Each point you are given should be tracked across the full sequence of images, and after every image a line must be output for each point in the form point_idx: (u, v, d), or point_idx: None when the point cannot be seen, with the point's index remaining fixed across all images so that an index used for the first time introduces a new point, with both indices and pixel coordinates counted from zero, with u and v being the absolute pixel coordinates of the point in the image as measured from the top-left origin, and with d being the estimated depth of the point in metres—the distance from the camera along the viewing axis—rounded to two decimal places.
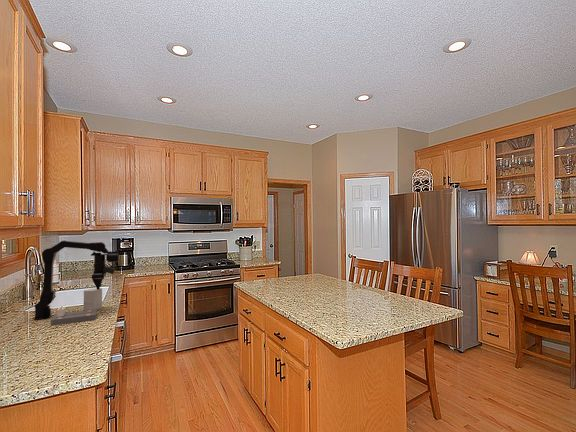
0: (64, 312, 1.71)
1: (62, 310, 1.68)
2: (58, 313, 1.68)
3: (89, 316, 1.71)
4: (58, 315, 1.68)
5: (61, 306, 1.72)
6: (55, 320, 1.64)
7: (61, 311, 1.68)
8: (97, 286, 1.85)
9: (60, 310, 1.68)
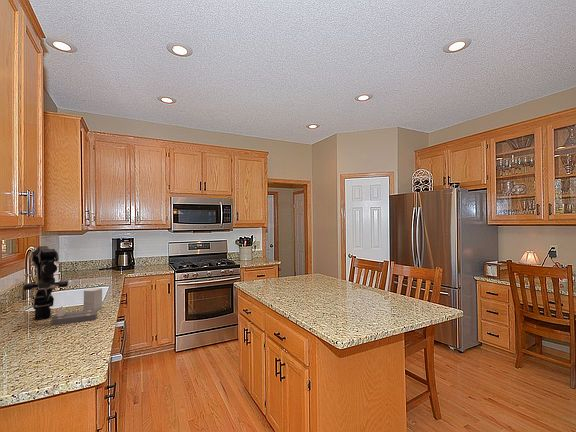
0: (64, 312, 1.71)
1: (62, 310, 1.68)
2: (58, 313, 1.68)
3: (89, 316, 1.71)
4: (58, 315, 1.68)
5: (61, 306, 1.72)
6: (55, 320, 1.64)
7: (61, 311, 1.68)
8: None
9: (60, 310, 1.68)
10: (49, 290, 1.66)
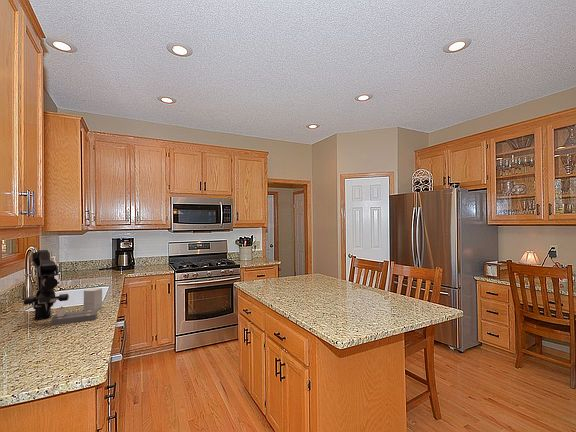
0: (64, 312, 1.71)
1: (62, 310, 1.68)
2: (58, 313, 1.68)
3: (89, 316, 1.71)
4: (58, 315, 1.68)
5: (61, 306, 1.72)
6: (55, 320, 1.64)
7: (61, 311, 1.68)
8: None
9: (60, 310, 1.68)
10: (49, 304, 1.66)
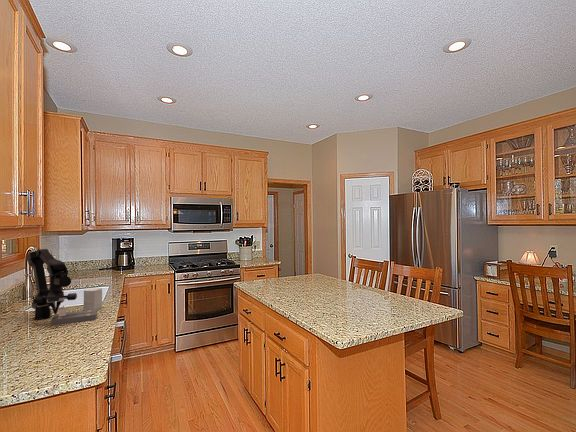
0: (66, 312, 1.71)
1: (64, 310, 1.69)
2: (60, 313, 1.68)
3: (89, 316, 1.71)
4: (60, 315, 1.68)
5: (63, 306, 1.72)
6: (55, 320, 1.64)
7: (62, 311, 1.68)
8: None
9: (62, 310, 1.68)
10: (58, 303, 1.68)
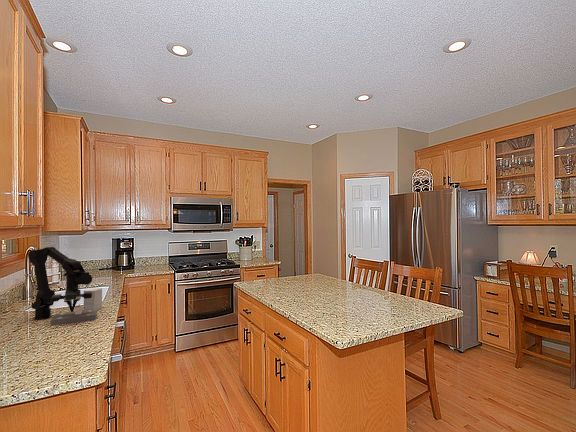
0: (82, 310, 1.75)
1: (80, 308, 1.72)
2: (76, 311, 1.71)
3: (89, 316, 1.71)
4: (76, 313, 1.71)
5: (79, 304, 1.76)
6: (55, 320, 1.64)
7: (79, 309, 1.72)
8: (70, 308, 1.72)
9: (78, 308, 1.72)
10: (74, 301, 1.71)
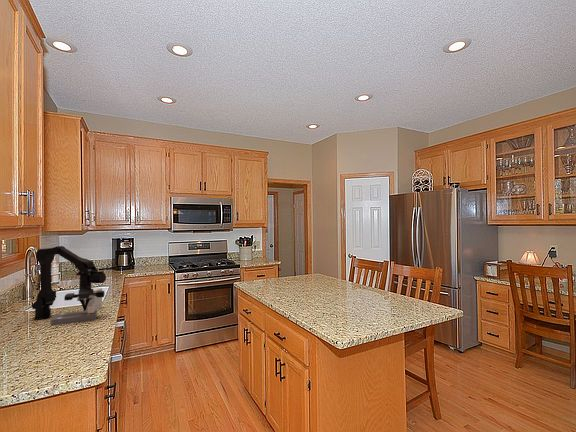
0: (94, 309, 1.77)
1: (92, 307, 1.75)
2: (89, 310, 1.74)
3: (89, 316, 1.71)
4: (89, 311, 1.74)
5: (91, 303, 1.79)
6: (55, 320, 1.64)
7: (91, 307, 1.75)
8: (83, 307, 1.75)
9: (91, 307, 1.75)
10: (87, 300, 1.74)
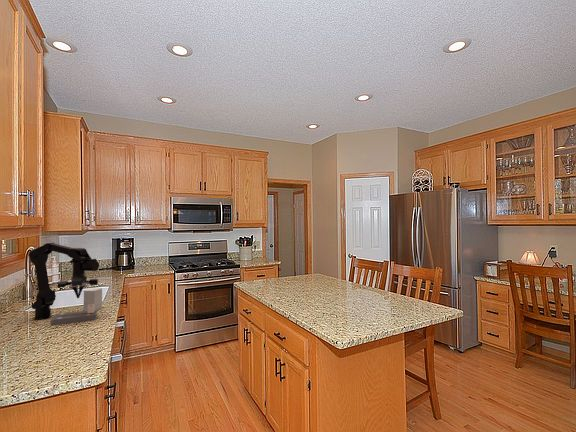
0: (94, 309, 1.77)
1: (92, 307, 1.75)
2: (89, 310, 1.74)
3: (89, 316, 1.71)
4: (89, 311, 1.74)
5: (91, 303, 1.79)
6: (55, 320, 1.64)
7: (91, 307, 1.75)
8: (76, 294, 1.75)
9: (90, 307, 1.75)
10: (81, 288, 1.74)
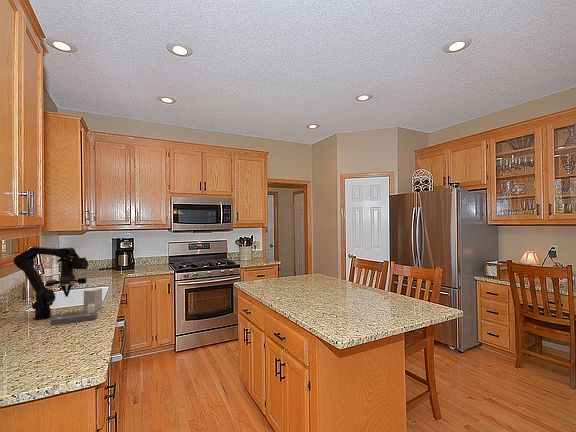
0: (94, 309, 1.77)
1: (92, 307, 1.75)
2: (89, 310, 1.74)
3: (89, 316, 1.71)
4: (89, 311, 1.74)
5: (91, 303, 1.79)
6: (55, 320, 1.64)
7: (91, 307, 1.75)
8: None
9: (90, 307, 1.75)
10: (69, 286, 1.76)
